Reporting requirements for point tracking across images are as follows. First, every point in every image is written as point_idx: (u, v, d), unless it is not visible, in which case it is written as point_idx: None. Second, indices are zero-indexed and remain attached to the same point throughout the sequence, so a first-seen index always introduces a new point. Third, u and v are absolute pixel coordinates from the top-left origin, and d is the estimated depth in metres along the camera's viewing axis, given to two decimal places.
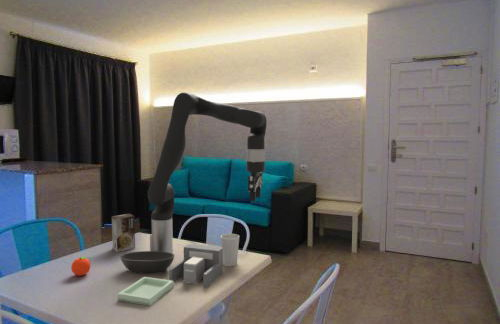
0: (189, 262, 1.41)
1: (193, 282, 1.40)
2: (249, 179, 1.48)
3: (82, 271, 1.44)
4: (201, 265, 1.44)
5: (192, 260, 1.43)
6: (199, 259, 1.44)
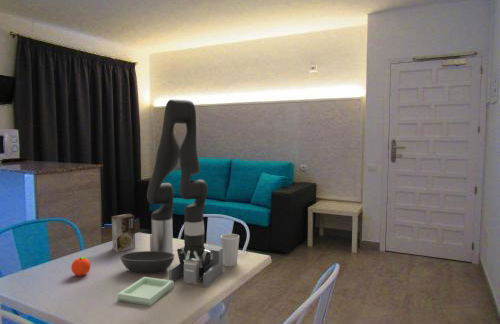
0: (189, 261, 1.41)
1: (193, 282, 1.40)
2: (209, 255, 1.40)
3: (82, 271, 1.44)
4: None
5: (192, 260, 1.43)
6: None
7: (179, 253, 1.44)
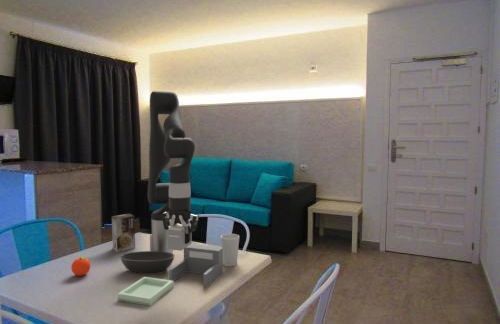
0: (174, 227, 1.30)
1: (178, 249, 1.28)
2: (195, 220, 1.29)
3: (82, 271, 1.45)
4: None
5: (177, 225, 1.31)
6: None
7: (163, 218, 1.32)
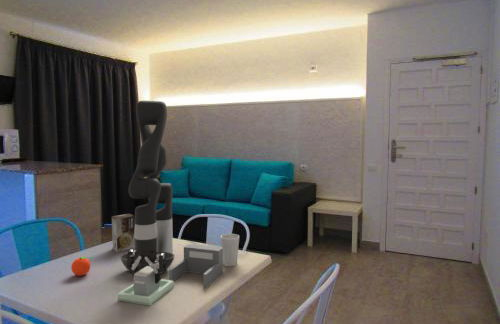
0: (140, 272, 1.28)
1: (144, 295, 1.27)
2: (162, 258, 1.27)
3: (82, 271, 1.45)
4: (154, 276, 1.30)
5: (144, 270, 1.30)
6: (152, 269, 1.31)
7: (129, 256, 1.30)
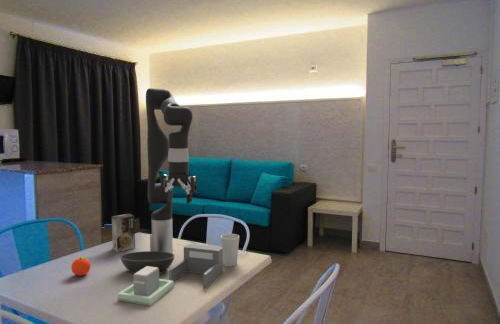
0: (140, 272, 1.28)
1: (144, 295, 1.27)
2: (194, 180, 1.38)
3: (82, 271, 1.45)
4: (154, 276, 1.30)
5: (144, 270, 1.30)
6: (152, 269, 1.31)
7: (162, 179, 1.42)
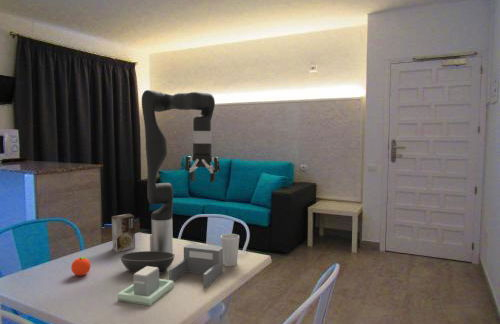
0: (140, 272, 1.28)
1: (144, 295, 1.27)
2: (217, 160, 1.49)
3: (82, 271, 1.45)
4: (154, 276, 1.30)
5: (144, 270, 1.30)
6: (152, 269, 1.31)
7: (187, 160, 1.53)
